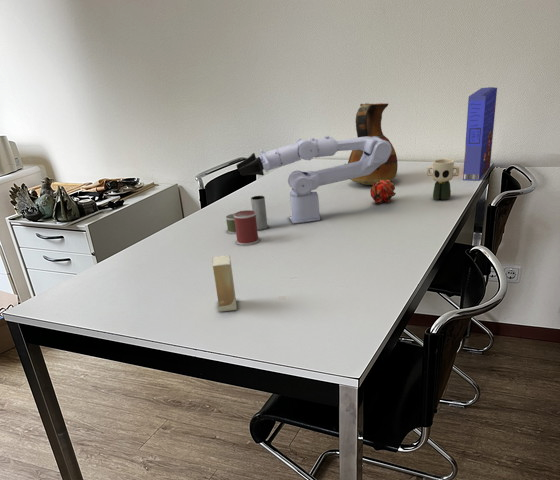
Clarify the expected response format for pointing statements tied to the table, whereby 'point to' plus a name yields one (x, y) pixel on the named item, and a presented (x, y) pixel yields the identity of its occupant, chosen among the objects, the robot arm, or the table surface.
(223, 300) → the cosmetic box
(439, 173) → the character mug
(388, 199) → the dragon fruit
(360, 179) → the ceramic pitcher
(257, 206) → the planter
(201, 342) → the table surface
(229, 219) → the short can
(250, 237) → the tall can
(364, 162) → the robot arm
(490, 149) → the cereal box
